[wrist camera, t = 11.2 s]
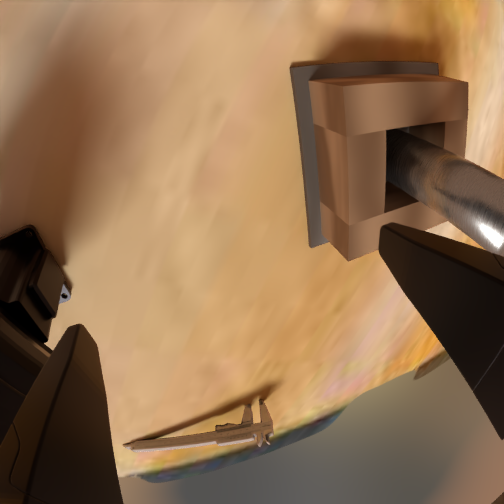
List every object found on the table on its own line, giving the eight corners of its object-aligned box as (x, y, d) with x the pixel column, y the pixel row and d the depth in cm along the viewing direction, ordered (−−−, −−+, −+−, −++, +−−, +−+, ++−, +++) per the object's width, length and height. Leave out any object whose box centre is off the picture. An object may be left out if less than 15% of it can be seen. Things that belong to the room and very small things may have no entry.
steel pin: (362, 177, 24) (490, 271, 13) (360, 128, 21) (509, 205, 11) (399, 167, 24) (523, 248, 14) (400, 122, 22) (540, 189, 11)
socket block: (309, 245, 26) (336, 276, 22) (289, 67, 18) (325, 70, 14) (429, 203, 28) (460, 223, 25) (434, 62, 20) (474, 70, 17)
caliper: (261, 396, 37) (279, 437, 32) (263, 400, 38) (281, 440, 33) (122, 443, 35) (128, 483, 30) (126, 445, 36) (132, 485, 31)
